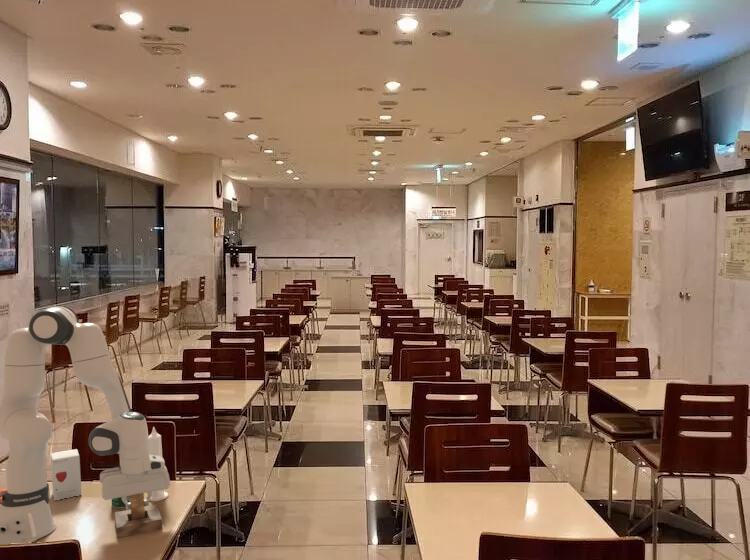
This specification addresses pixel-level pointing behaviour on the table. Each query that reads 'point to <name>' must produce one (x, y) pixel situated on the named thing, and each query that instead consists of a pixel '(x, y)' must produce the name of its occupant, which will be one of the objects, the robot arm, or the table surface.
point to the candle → (156, 449)
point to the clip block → (138, 522)
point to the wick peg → (137, 506)
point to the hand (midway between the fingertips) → (137, 507)
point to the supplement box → (66, 474)
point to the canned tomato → (119, 502)
